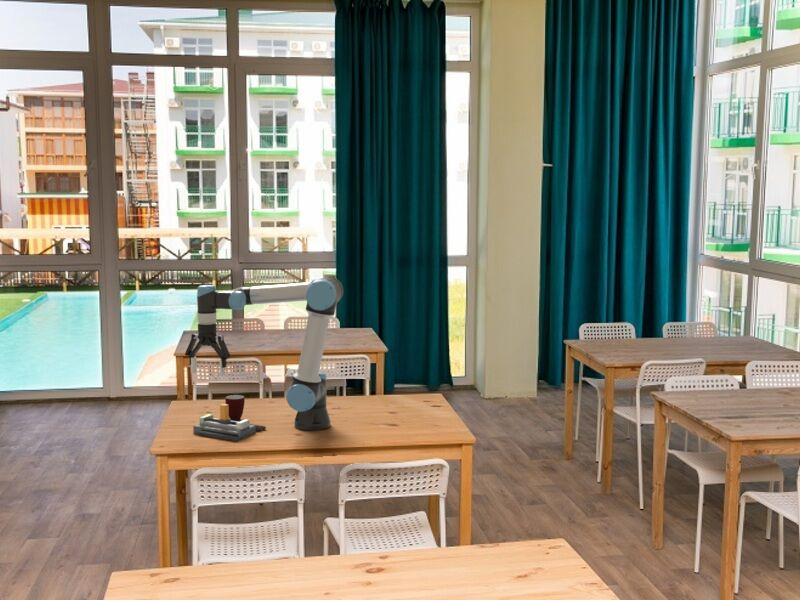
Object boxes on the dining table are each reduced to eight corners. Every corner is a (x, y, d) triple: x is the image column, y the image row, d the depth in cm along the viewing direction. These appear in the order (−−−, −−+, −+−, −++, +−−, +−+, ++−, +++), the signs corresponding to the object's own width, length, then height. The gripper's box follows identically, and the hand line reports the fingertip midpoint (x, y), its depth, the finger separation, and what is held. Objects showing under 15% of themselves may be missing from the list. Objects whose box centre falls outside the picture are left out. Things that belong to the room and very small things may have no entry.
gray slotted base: (255, 432, 358) (255, 418, 357) (238, 440, 347) (238, 425, 347) (211, 426, 367) (211, 412, 367) (193, 433, 357) (193, 418, 356)
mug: (226, 424, 371) (226, 401, 370) (217, 420, 377) (216, 397, 376) (248, 420, 378) (248, 397, 376) (238, 416, 384) (238, 394, 382)
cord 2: (266, 429, 363) (266, 425, 363) (264, 430, 362) (264, 426, 362) (216, 423, 372) (216, 419, 372) (214, 423, 371) (214, 420, 371)
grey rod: (262, 431, 361) (262, 426, 361) (260, 432, 359) (260, 427, 359) (215, 423, 371) (215, 419, 371) (212, 424, 369) (212, 420, 369)
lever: (230, 424, 357) (230, 404, 356) (226, 426, 355) (226, 406, 354) (222, 423, 359) (222, 403, 358) (218, 425, 356) (217, 405, 355)
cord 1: (239, 441, 346) (239, 436, 346) (236, 442, 345) (236, 437, 344) (199, 434, 355) (199, 429, 355) (196, 435, 354) (196, 430, 353)
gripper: (238, 323, 357) (239, 374, 359) (186, 319, 366) (187, 369, 368) (228, 326, 350) (229, 378, 352) (175, 322, 359) (177, 373, 361)
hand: (208, 374), depth 360 cm, fingers open, 13 cm apart
